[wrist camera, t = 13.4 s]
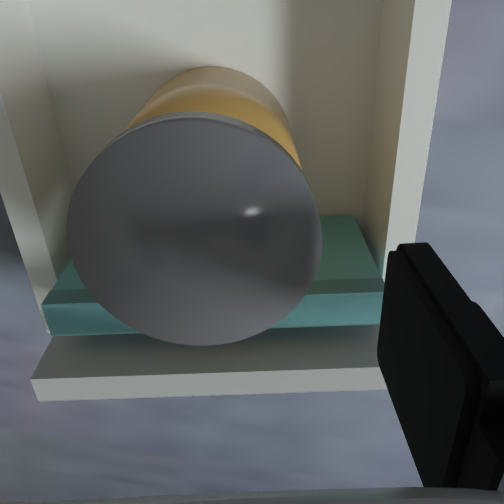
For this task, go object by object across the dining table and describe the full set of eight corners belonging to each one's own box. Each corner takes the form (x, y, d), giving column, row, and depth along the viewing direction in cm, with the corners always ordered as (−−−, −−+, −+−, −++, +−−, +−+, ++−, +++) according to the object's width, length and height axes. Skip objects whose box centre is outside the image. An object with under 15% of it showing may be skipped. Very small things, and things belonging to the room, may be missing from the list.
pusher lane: (376, 262, 22) (432, 387, 15) (80, 274, 22) (8, 402, 16) (421, -150, 15) (572, -260, 8) (-27, -128, 15) (-258, -216, 8)
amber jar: (294, 215, 20) (318, 341, 13) (148, 221, 20) (96, 349, 13) (294, 59, 17) (327, 115, 10) (122, 67, 17) (35, 128, 10)
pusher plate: (351, 241, 20) (384, 324, 15) (97, 251, 20) (51, 336, 16) (353, 214, 20) (388, 291, 15) (91, 224, 20) (40, 304, 15)
